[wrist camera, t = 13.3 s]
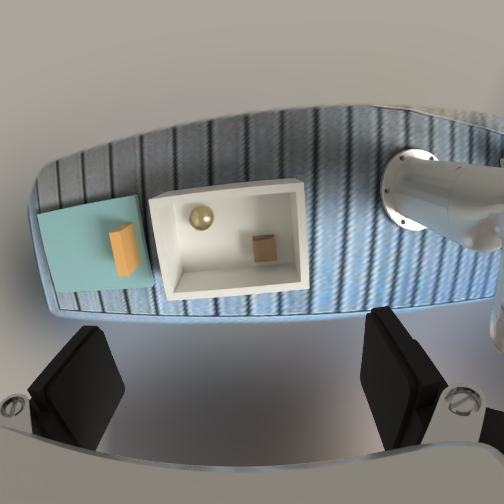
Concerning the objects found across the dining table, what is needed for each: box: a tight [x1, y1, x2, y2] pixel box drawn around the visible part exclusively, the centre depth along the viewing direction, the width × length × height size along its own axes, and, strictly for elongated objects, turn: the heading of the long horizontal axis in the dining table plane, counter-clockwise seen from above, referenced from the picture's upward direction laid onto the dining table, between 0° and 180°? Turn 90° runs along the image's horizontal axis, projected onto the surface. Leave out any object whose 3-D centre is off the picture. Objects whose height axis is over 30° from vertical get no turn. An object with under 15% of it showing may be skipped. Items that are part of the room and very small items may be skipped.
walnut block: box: [252, 234, 277, 262], centre depth 42 cm, size 3×3×2 cm
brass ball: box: [189, 205, 214, 231], centre depth 41 cm, size 3×3×2 cm
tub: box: [149, 178, 309, 301], centre depth 40 cm, size 18×13×8 cm
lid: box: [37, 194, 154, 293], centre depth 41 cm, size 19×14×8 cm
